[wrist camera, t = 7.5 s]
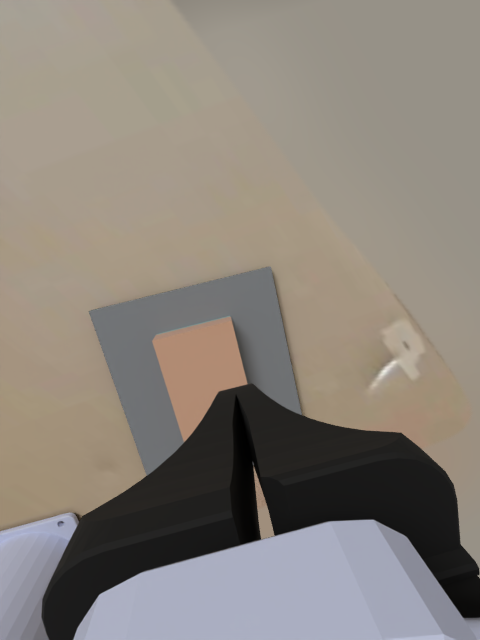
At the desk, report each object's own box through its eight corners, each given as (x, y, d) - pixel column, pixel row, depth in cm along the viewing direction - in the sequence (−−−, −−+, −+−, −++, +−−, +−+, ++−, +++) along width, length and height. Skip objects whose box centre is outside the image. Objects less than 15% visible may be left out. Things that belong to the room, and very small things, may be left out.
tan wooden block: (259, 432, 22) (192, 450, 22) (230, 315, 20) (156, 334, 20) (262, 446, 21) (191, 465, 21) (231, 320, 19) (152, 340, 19)
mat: (154, 488, 23) (153, 492, 23) (91, 310, 20) (88, 311, 20) (307, 446, 24) (309, 450, 23) (269, 266, 20) (270, 266, 20)
